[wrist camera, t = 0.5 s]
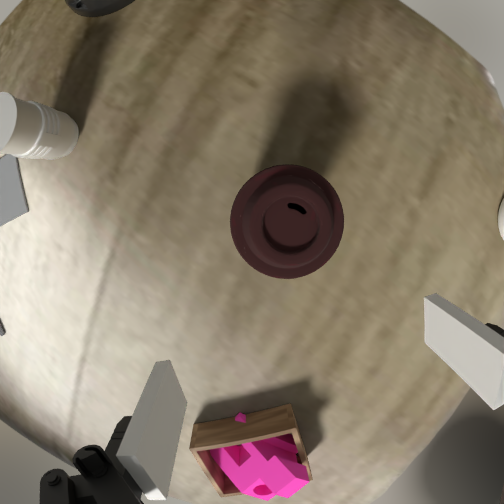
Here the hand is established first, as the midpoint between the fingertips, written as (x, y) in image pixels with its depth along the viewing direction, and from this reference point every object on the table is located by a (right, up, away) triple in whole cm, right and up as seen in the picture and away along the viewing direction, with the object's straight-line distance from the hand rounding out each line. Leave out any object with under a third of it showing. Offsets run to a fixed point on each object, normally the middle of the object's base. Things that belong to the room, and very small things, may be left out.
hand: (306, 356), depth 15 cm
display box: (-2, -27, +33) cm, 43 cm away
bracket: (-2, -27, +33) cm, 43 cm away
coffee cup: (0, +10, +26) cm, 28 cm away
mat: (-42, +14, +24) cm, 50 cm away
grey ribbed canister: (-29, +21, +23) cm, 43 cm away
